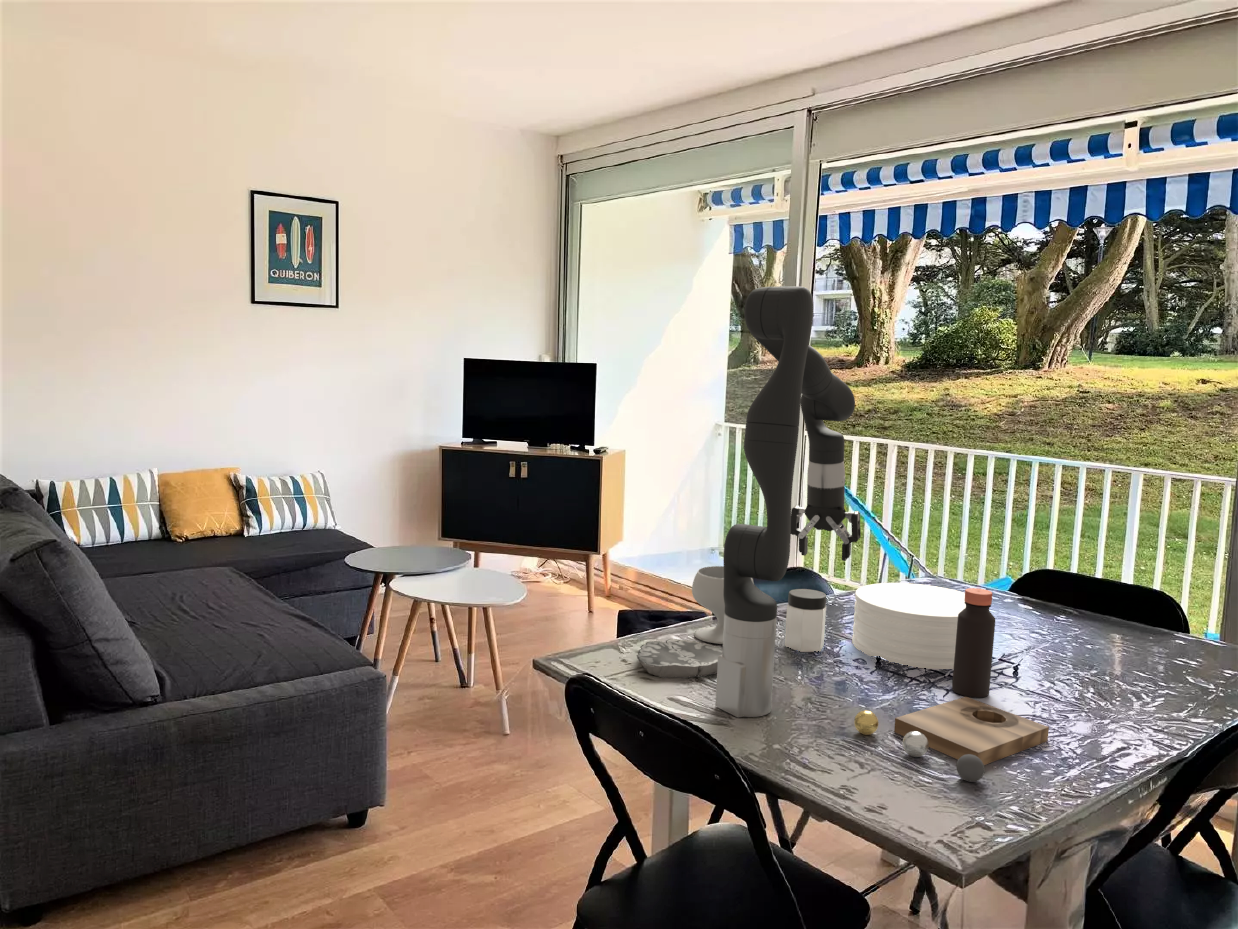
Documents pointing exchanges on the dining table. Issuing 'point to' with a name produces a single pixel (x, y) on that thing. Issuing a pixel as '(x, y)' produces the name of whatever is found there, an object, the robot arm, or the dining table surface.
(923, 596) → the plate stack
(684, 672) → the brain slice
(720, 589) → the chalice
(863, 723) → the brass ball
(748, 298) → the robot arm
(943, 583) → the dining table surface
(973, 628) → the bottle
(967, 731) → the board
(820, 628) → the jar
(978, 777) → the rubber ball
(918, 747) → the steel ball
